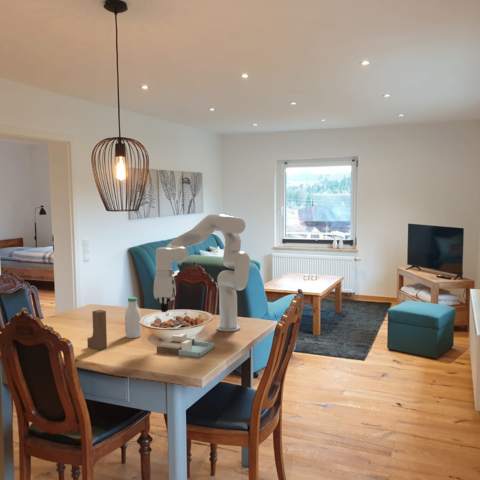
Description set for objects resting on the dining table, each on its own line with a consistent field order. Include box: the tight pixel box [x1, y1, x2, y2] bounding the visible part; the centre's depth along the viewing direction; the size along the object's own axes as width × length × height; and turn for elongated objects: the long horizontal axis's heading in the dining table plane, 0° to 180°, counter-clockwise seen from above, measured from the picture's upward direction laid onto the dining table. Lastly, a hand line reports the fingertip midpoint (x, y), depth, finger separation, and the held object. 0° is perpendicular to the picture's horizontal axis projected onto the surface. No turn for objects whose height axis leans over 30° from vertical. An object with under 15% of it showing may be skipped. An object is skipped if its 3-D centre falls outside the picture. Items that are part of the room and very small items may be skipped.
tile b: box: [182, 340, 192, 351], centre depth 206 cm, size 5×5×2 cm
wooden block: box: [86, 309, 108, 351], centre depth 214 cm, size 9×4×18 cm, turn 54°
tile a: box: [171, 333, 188, 342], centre depth 217 cm, size 5×5×2 cm
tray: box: [178, 340, 215, 359], centre depth 209 cm, size 15×11×2 cm
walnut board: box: [156, 337, 196, 356], centre depth 213 cm, size 16×11×3 cm
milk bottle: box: [124, 296, 142, 339], centre depth 233 cm, size 8×8×20 cm
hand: (164, 311), depth 218 cm, fingers closed
